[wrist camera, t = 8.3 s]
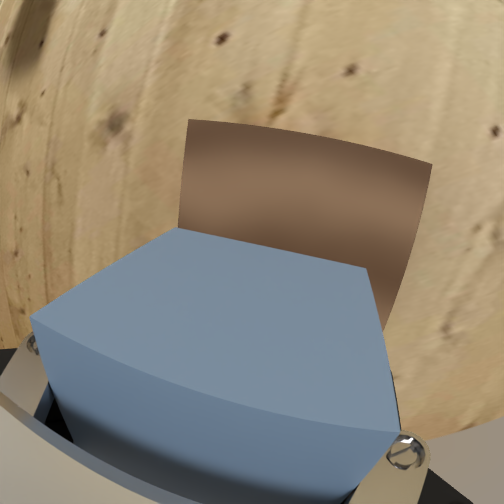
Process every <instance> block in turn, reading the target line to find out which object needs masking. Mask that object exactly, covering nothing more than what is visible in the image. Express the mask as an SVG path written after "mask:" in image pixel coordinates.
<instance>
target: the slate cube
mask: <svg viewBox="0 0 504 504" xmlns="http://www.w3.org/2000/svg"><path fill="white" fill-rule="evenodd" d="M30 321H31V325H32V329H33V332H34V336H35V340H36V343H37V347H38V350H39V353H40V356H41V360H42V363H43V366H44V369H45V372H46V375H47V378H48V380H49V383H50V386H51V389H52V391H53V394H54V397H55V399H56V402H57V404H58V407H59V409H60V411H61V414H62V416H63V418H64V421H65V423H66V425H67V427H68V430H69V432H70V434H71V436H72V438H73V440H74V442H75V444H76V446H77V447H79V448H81V449H82V450H84V451H86V452H88V453H89V454H91V455H93V456H94V457H96V458H98V459H100V460H102V461H104V462H105V463H107V464H109V465H111V466H113V467H115V468H117V469H119V470H121V471H123V472H125V473H127V474H129V475H131V476H133V477H135V478H138V479H140V480H142V481H144V482H147V483H149V484H151V485H153V486H156V487H158V488H161V489H163V490H166V491H168V492H171V493H173V494H176V495H179V496H181V497H184V498H187V499H190V500H193V501H196V502H199V503H202V504H340V503H341V502H342V501H343V500H344V499H345V498H346V497H347V496H348V495H349V494H350V493H351V492H352V491H353V490H354V489H355V488H356V487H357V485H358V484H359V483H360V482H361V481H362V480H363V479H364V478H365V476H366V475H367V474H368V473H369V472H370V471H371V469H372V468H373V467H374V466H375V465H376V463H377V462H378V461H379V460H380V459H381V457H382V456H383V455H384V454H385V452H386V451H387V450H388V448H389V447H390V446H391V444H392V443H393V442H394V441H395V439H396V438H397V436H398V435H399V434H400V425H399V418H398V412H397V405H396V399H395V393H394V387H393V382H392V376H391V371H390V366H389V361H388V356H387V351H386V346H385V342H384V337H383V333H382V328H381V324H380V320H379V315H378V311H377V307H376V303H375V299H374V295H373V292H372V288H371V284H370V280H369V277H368V273H367V270H366V268H362V267H358V266H353V265H349V264H344V263H340V262H335V261H331V260H326V259H322V258H317V257H312V256H308V255H303V254H299V253H294V252H289V251H285V250H280V249H275V248H271V247H266V246H261V245H257V244H252V243H247V242H243V241H238V240H233V239H229V238H224V237H219V236H214V235H210V234H205V233H200V232H195V231H191V230H186V229H181V228H176V227H175V228H173V229H171V230H170V231H168V232H166V233H164V234H162V235H161V236H159V237H157V238H155V239H154V240H152V241H150V242H148V243H147V244H145V245H143V246H142V247H140V248H138V249H136V250H135V251H133V252H131V253H130V254H128V255H126V256H124V257H123V258H121V259H119V260H118V261H116V262H114V263H113V264H111V265H109V266H108V267H106V268H104V269H103V270H101V271H100V272H98V273H96V274H95V275H93V276H91V277H90V278H88V279H87V280H85V281H83V282H82V283H80V284H79V285H77V286H75V287H74V288H72V289H71V290H69V291H68V292H66V293H64V294H63V295H61V296H60V297H58V298H57V299H55V300H54V301H52V302H51V303H49V304H48V305H46V306H44V307H43V308H41V309H40V310H38V311H37V312H35V313H34V314H32V315H31V316H30Z"/></svg>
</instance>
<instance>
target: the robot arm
mask: <svg viewBox="0 0 504 504" xmlns="http://www.w3.org/2000/svg"><path fill="white" fill-rule="evenodd" d="M390 371H391V370H390ZM391 376H392V372H391ZM392 382H393V376H392ZM393 387H394V382H393ZM394 393H395V387H394ZM395 399H396V405H397V412H398V418H399V425H400V434H399V435H398V436H397V438H396V439H395V441H394V442H393V443H392V444H391V446H390V447H389V448H388V450H387V451H386V452H385V454H384V455H383V456H382V457H381V459H380V460H379V461H378V462H377V463H376V465H375V466H374V467H373V468H372V469H371V471H370V472H369V473H368V474H367V475H366V476H365V478H364V479H363V480H362V481H361V482H360V483H359V484H358V485H357V487H356V488H355V489H354V490H353V491H352V492H351V493H350V494H349V495H348V496H347V497H346V498H345V499H344V500H343V501H342V502H341V503H340V504H473V503H472V502H471V501H470V500H469V499H467V498H466V497H465V496H463V495H462V494H461V493H459V492H458V491H457V490H456V489H454V488H453V487H452V486H451V485H449V484H448V483H447V482H445V481H444V480H442V478H440V477H439V476H438V475H437V474H435V473H434V472H433V471H431V470H430V469H429V468H428V467H429V463H430V450H429V447H428V445H427V444H426V442H425V441H424V440H423V439H422V438H421V437H420V436H418V435H416V434H414V433H412V432H409V431H405V430H401V424H400V417H399V411H398V404H397V398H396V393H395ZM0 504H202V503H199V502H196V501H193V500H190V499H187V498H184V497H181V496H179V495H176V494H173V493H171V492H168V491H166V490H163V489H161V488H158V487H156V486H153V485H151V484H149V483H147V482H144V481H142V480H140V479H138V478H135V477H133V476H131V475H129V474H127V473H125V472H123V471H121V470H119V469H117V468H115V467H113V466H111V465H109V464H107V463H105V462H104V461H102V460H100V459H98V458H96V457H94V456H93V455H91V454H89V453H88V452H86V451H84V450H82V449H81V448H79V447H77V446H76V444H75V442H74V440H73V438H72V436H71V434H70V432H69V430H68V427H67V425H66V423H65V421H64V418H63V416H62V414H61V411H60V409H59V407H58V404H57V402H56V399H55V397H54V394H53V391H52V389H51V386H50V383H49V380H48V378H47V375H46V372H45V369H44V366H43V363H42V360H41V356H40V353H39V350H38V347H37V343H36V340H35V336H34V332H31V333H30V334H28V335H27V336H26V337H25V338H24V340H23V341H22V343H21V344H20V346H19V347H18V348H13V349H0Z"/></svg>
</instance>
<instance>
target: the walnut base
mask: <svg viewBox="0 0 504 504" xmlns="http://www.w3.org/2000/svg"><path fill="white" fill-rule="evenodd" d="M431 169H432V164H430V163H427V162H424V161H420V160H417V159H414V158H410V157H407V156H403V155H399V154H396V153H392V152H388V151H384V150H380V149H376V148H372V147H368V146H364V145H360V144H355V143H351V142H346V141H342V140H337V139H332V138H327V137H322V136H317V135H312V134H306V133H300V132H294V131H288V130H282V129H275V128H268V127H261V126H254V125H246V124H237V123H228V122H217V121H206V120H193V119H189V120H188V127H187V136H186V144H185V153H184V162H183V172H182V182H181V193H180V205H179V218H178V228H181V229H186V230H191V231H195V232H200V233H205V234H210V235H214V236H219V237H224V238H229V239H233V240H238V241H243V242H247V243H252V244H257V245H261V246H266V247H271V248H275V249H280V250H285V251H289V252H294V253H299V254H303V255H308V256H312V257H317V258H322V259H326V260H331V261H335V262H340V263H344V264H349V265H353V266H358V267H362V268H366V270H367V273H368V277H369V280H370V284H371V288H372V292H373V295H374V299H375V303H376V307H377V311H378V315H379V320H380V324H381V328H382V333H383V330H384V328H385V325H386V323H387V320H388V318H389V315H390V312H391V310H392V307H393V304H394V302H395V299H396V296H397V293H398V290H399V287H400V285H401V282H402V279H403V276H404V273H405V270H406V266H407V263H408V260H409V257H410V253H411V250H412V247H413V243H414V240H415V236H416V233H417V229H418V225H419V222H420V218H421V214H422V210H423V206H424V201H425V197H426V193H427V188H428V184H429V179H430V174H431Z"/></svg>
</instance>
